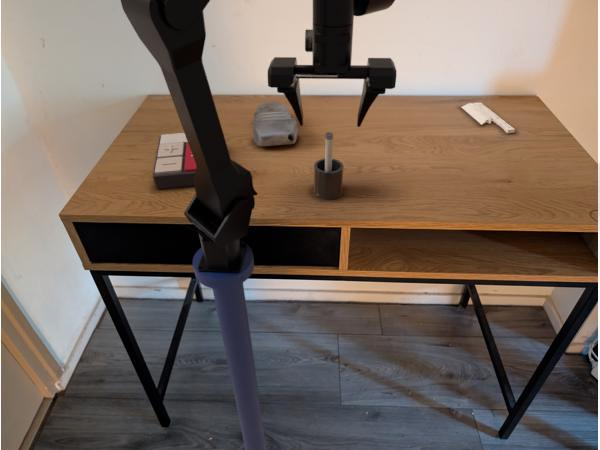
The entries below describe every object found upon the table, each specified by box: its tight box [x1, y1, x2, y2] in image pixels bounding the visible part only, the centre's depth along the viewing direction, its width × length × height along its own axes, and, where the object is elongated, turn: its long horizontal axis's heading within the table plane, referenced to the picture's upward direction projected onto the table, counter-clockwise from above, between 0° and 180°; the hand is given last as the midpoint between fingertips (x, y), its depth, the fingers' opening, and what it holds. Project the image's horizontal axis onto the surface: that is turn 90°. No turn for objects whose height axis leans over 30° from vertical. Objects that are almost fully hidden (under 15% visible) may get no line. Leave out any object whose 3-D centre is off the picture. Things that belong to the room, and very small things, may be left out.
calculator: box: [152, 132, 196, 190], centre depth 85 cm, size 11×4×15 cm
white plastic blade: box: [461, 101, 516, 134], centre depth 100 cm, size 5×15×1 cm, turn 10°
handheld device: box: [252, 101, 299, 147], centre depth 97 cm, size 10×20×5 cm, turn 8°
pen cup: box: [313, 158, 345, 201], centre depth 77 cm, size 5×5×6 cm
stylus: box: [324, 131, 334, 172], centre depth 75 cm, size 1×1×11 cm
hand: (329, 125), depth 70 cm, fingers open, 9 cm apart
